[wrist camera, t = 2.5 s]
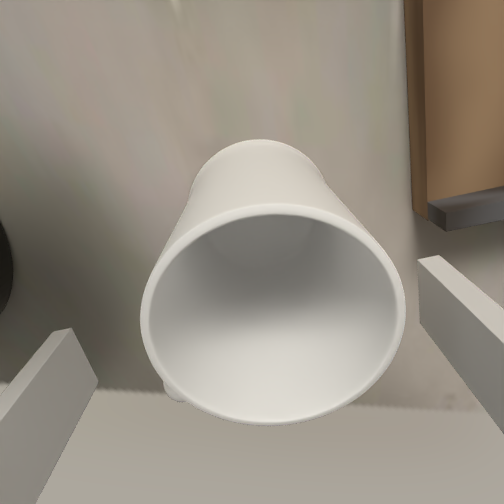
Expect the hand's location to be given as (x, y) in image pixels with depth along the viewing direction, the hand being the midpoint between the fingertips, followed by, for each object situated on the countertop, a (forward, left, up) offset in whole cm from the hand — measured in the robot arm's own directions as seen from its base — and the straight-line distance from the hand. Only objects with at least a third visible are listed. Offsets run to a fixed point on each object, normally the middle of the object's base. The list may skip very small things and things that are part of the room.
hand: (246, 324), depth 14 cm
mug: (0, 0, -10) cm, 10 cm away
